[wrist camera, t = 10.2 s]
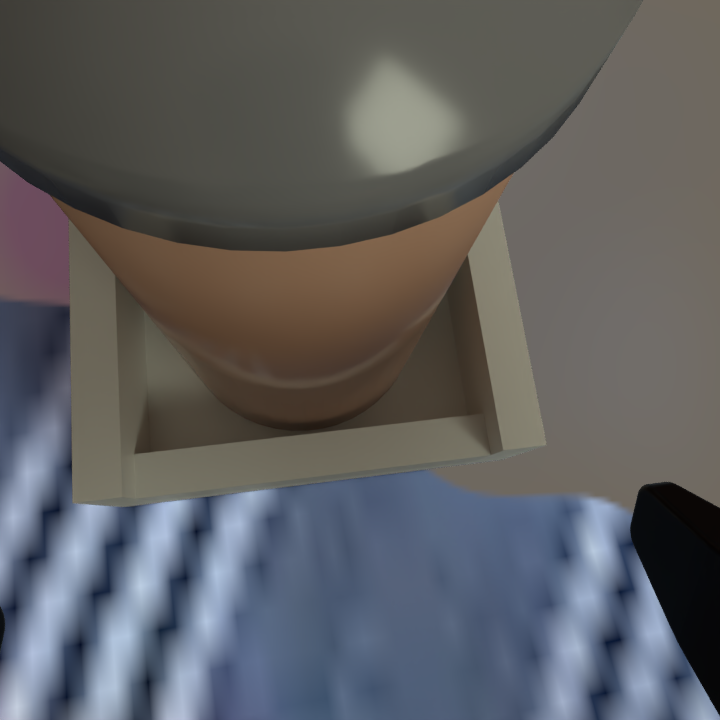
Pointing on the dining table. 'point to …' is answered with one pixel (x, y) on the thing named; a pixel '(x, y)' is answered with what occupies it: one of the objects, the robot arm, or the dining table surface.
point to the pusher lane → (283, 447)
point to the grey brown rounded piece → (290, 165)
